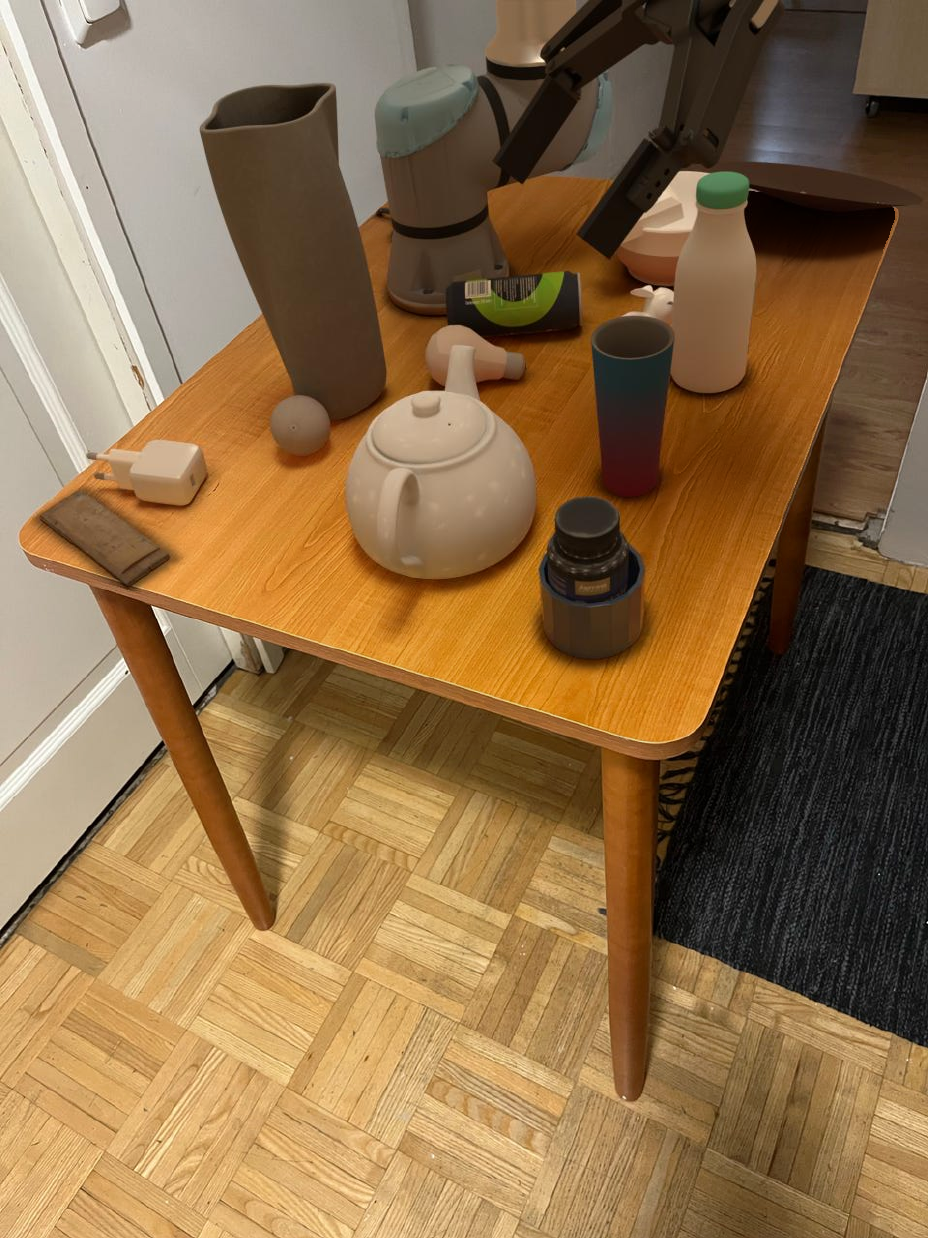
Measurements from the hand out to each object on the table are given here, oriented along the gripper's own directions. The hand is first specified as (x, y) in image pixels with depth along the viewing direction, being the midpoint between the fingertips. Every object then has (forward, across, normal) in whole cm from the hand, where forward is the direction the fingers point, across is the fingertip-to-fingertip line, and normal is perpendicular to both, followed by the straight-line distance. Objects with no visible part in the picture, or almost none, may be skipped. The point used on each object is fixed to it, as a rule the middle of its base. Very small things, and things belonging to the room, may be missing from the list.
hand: (546, 208), depth 64 cm
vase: (+29, +31, -12) cm, 44 cm away
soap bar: (-3, +35, -35) cm, 50 cm away
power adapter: (+42, +28, +4) cm, 51 cm away
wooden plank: (+46, +22, +6) cm, 52 cm away
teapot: (+27, +6, -14) cm, 31 cm away
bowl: (-2, +37, -44) cm, 58 cm away
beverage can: (+16, +37, -21) cm, 45 cm away
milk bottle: (+4, +15, -38) cm, 41 cm away
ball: (+34, +24, -6) cm, 42 cm away
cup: (+15, +3, -27) cm, 31 cm away
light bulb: (+19, +26, -23) cm, 40 cm away
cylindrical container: (+22, -11, -19) cm, 31 cm away
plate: (-17, +40, -56) cm, 71 cm away
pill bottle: (+22, -11, -18) cm, 31 cm away
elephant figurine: (+4, +19, -32) cm, 38 cm away
